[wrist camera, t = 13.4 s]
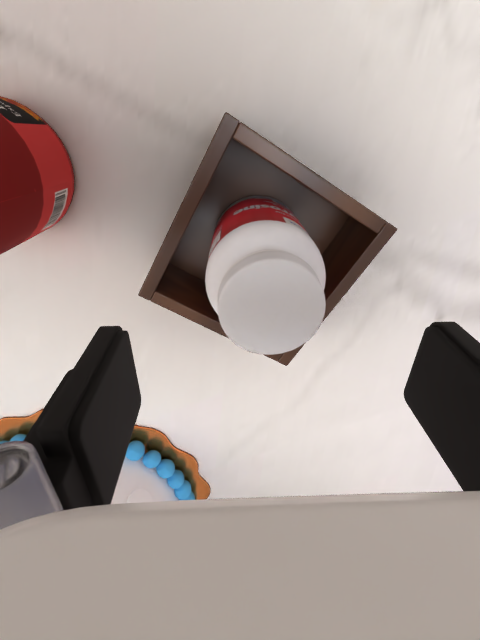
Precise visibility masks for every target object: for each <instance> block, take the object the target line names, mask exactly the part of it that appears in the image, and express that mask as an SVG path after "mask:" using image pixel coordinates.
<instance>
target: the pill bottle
mask: <svg viewBox="0 0 480 640" xmlns="http://www.w3.org/2000/svg"><path fill="white" fill-rule="evenodd" d="M325 281H326V273H325V265H324V262H323V258H322V256H321V254H320V251H319V250H318V248H317V246H316V244H315V243H314V241H313V240H312V239H311V237H310V236H309V235H308V233H307V232H306V230H305V229H304V227H303V226H302V225H301V223H300V222H299V220H298V219H297V218H296V216H295V215H294V214H293V212H292V211H291V210H290V209H289V208H288V207H287V206H286V205H284V204H283V203H282V202H280V201H278V200H276V199H273V198H270V197H266V196H249V197H245V198H243V199H240V200H238V201H236V202H234V203H233V204H231V205H230V206H229V207H228V208H227V209H226V210H225V211H224V212H223V213H222V215H221V216H220V218H219V220H218V222H217V224H216V227H215V230H214V234H213V239H212V243H211V248H210V252H209V257H208V262H207V267H206V275H205V285H206V292H207V295H208V299H209V301H210V303H211V305H212V307H213V309H214V310H215V312H216V313H217V314H218V317H219V321H220V324H221V327H222V329H223V330H224V332H225V334H226V335H227V336H228V337H229V339H230V340H231V341H232V342H234V343H235V344H236V345H238V346H239V347H241V348H243V349H245V350H247V351H249V352H253V353H257V354H264V355H273V354H280V353H285V352H288V351H292V350H294V349H296V348H298V347H299V346H301V345H303V344H304V343H306V342H307V341H308V340H309V339H310V338H311V337H312V336H313V335H314V334H315V333H316V331H317V330H318V329H319V327H320V325H321V323H322V321H323V318H324V314H325V307H326V302H325V295H324V288H325Z"/></svg>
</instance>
